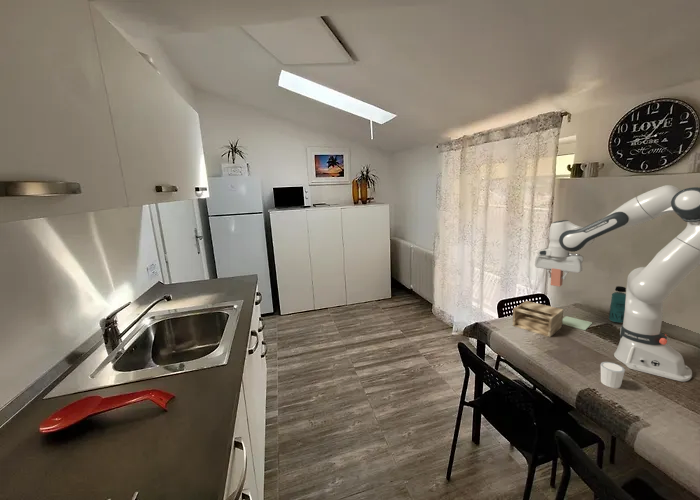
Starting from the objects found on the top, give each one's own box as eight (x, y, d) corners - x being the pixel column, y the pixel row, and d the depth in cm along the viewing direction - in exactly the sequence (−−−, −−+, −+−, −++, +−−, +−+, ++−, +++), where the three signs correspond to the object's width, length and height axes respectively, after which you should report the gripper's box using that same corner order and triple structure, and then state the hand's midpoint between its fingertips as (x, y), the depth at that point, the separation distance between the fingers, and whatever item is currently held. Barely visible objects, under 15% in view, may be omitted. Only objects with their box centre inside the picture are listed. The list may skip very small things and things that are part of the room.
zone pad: (592, 323, 160) (592, 322, 160) (585, 330, 153) (585, 329, 152) (566, 316, 169) (566, 316, 169) (558, 323, 162) (558, 322, 162)
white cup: (616, 391, 108) (618, 374, 106) (594, 381, 114) (596, 364, 113) (626, 385, 110) (629, 368, 109) (605, 375, 117) (607, 359, 115)
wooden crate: (561, 327, 157) (563, 309, 155) (550, 337, 148) (551, 318, 146) (525, 317, 171) (526, 300, 169) (512, 325, 162) (513, 308, 160)
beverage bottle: (605, 320, 162) (609, 285, 159) (618, 320, 161) (623, 284, 158) (613, 325, 156) (618, 289, 152) (628, 325, 155) (632, 288, 151)
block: (562, 284, 154) (563, 267, 153) (559, 286, 152) (560, 269, 150) (553, 283, 157) (554, 266, 156) (550, 285, 155) (551, 268, 153)
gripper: (585, 253, 145) (583, 280, 148) (538, 249, 161) (537, 273, 164) (581, 255, 141) (579, 283, 144) (534, 251, 157) (533, 276, 160)
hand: (556, 278), depth 154 cm, fingers closed on block, 4 cm apart
